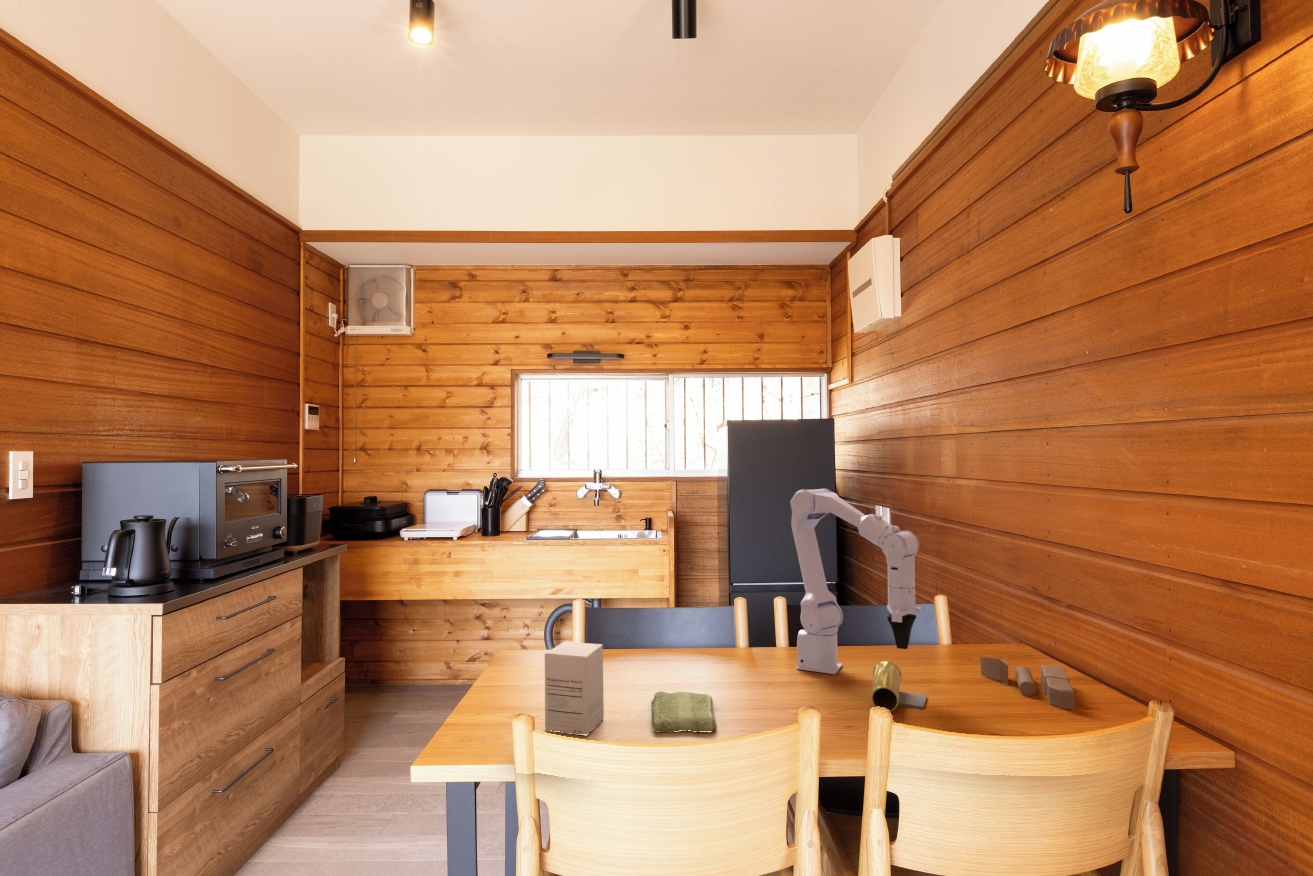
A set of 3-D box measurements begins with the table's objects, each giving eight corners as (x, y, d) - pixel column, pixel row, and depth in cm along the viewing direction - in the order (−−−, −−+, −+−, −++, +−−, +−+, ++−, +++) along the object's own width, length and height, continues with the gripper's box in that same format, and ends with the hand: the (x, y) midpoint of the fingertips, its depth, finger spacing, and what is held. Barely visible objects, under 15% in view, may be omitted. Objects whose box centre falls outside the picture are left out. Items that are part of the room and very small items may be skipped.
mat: (872, 700, 140) (872, 698, 140) (878, 690, 146) (878, 688, 146) (923, 708, 135) (923, 706, 135) (926, 698, 142) (926, 695, 142)
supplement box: (563, 714, 134) (563, 640, 134) (604, 719, 131) (604, 643, 132) (543, 732, 125) (543, 652, 126) (586, 737, 122) (586, 656, 123)
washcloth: (712, 702, 141) (712, 687, 141) (717, 737, 124) (717, 719, 124) (651, 702, 142) (651, 687, 142) (648, 736, 124) (648, 719, 124)
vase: (906, 669, 145) (905, 694, 131) (895, 693, 146) (893, 720, 132) (879, 656, 147) (875, 679, 133) (868, 679, 148) (864, 705, 134)
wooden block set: (1063, 661, 150) (1075, 685, 134) (1063, 686, 150) (1076, 713, 134) (980, 651, 157) (982, 674, 141) (980, 675, 157) (983, 700, 141)
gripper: (916, 594, 138) (917, 659, 137) (924, 582, 151) (925, 642, 150) (881, 590, 141) (882, 654, 141) (892, 579, 154) (893, 638, 154)
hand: (902, 648), depth 146 cm, fingers closed
